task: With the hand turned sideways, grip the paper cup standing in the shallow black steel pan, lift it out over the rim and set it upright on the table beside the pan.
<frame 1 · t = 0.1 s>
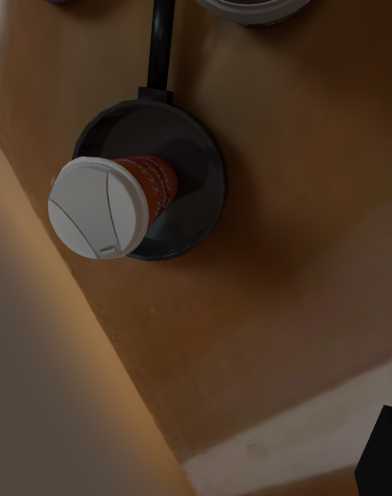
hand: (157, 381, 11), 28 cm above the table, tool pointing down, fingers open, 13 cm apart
paper cup: (153, 181, 38), resting on pan
pan: (153, 181, 38), on the table
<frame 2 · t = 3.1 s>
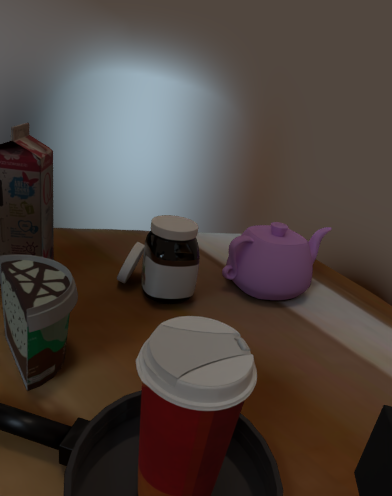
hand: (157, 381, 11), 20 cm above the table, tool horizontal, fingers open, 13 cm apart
spread jar: (153, 290, 56), on the table
teapot: (269, 287, 64), on the table
food container: (45, 354, 40), on the table
juice carton: (25, 275, 55), on the table
paper cup: (172, 491, 28), resting on pan
pan: (172, 492, 28), on the table
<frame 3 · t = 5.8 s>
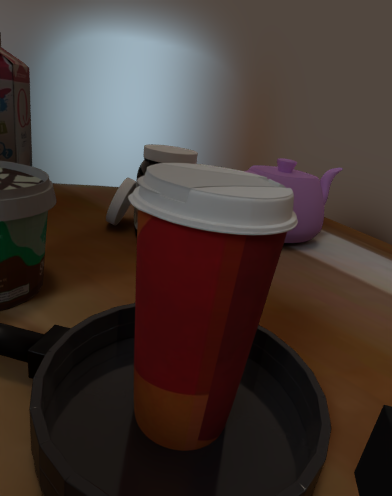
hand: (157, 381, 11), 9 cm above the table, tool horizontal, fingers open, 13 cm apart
spread jar: (147, 233, 50), on the table
teapot: (275, 234, 57), on the table
food container: (19, 281, 33), on the table
juice carton: (0, 216, 48), on the table
paper cup: (179, 412, 21), resting on pan
pan: (179, 413, 21), on the table
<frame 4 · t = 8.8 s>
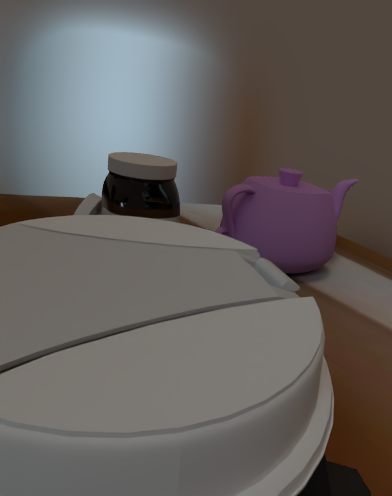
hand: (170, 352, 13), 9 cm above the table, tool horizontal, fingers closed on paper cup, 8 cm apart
spread jar: (116, 262, 40), on the table
teapot: (277, 259, 48), on the table
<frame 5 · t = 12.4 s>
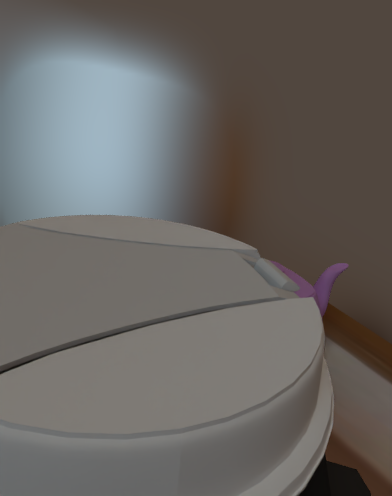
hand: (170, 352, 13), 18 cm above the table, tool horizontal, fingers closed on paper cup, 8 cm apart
teapot: (258, 354, 43), on the table
when the fingers open (9 cm above the table, at t = 16.3 s): paper cup stays where it is, on the table.
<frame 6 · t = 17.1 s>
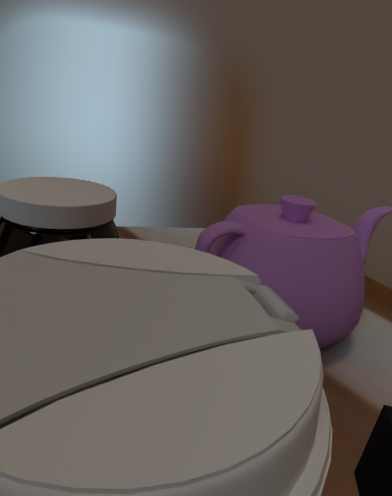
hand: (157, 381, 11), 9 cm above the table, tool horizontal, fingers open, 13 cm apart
spread jar: (34, 342, 26), on the table
teapot: (277, 320, 34), on the table
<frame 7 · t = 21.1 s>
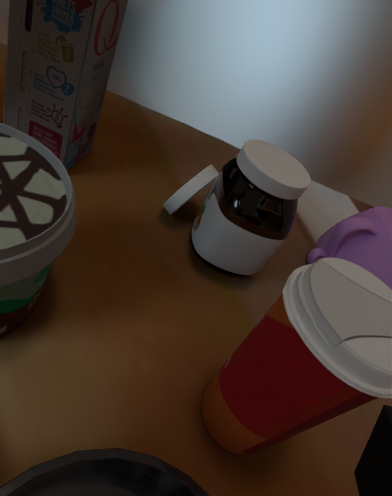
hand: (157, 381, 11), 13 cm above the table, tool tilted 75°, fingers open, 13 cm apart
spread jar: (204, 239, 39), on the table
teapot: (359, 294, 44), on the table
food container: (12, 290, 26), on the table
juice carton: (49, 149, 39), on the table
paper cup: (233, 414, 27), on the table
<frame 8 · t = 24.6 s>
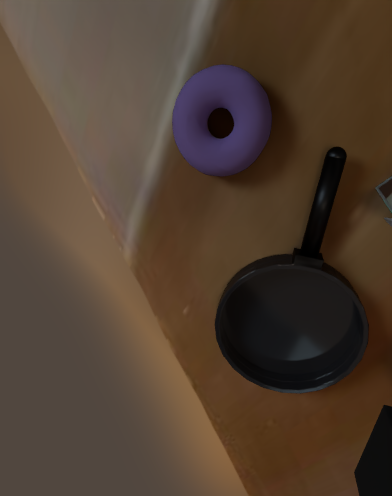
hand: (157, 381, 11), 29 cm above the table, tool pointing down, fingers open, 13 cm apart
donut: (223, 123, 36), on the table
pan: (287, 318, 41), on the table
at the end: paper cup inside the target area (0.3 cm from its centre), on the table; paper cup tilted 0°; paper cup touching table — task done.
